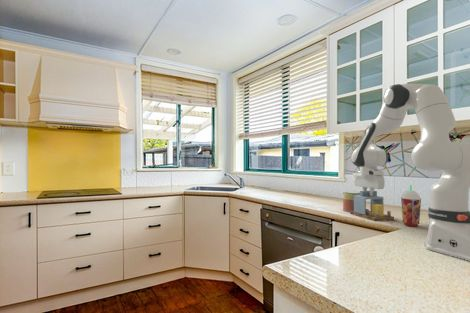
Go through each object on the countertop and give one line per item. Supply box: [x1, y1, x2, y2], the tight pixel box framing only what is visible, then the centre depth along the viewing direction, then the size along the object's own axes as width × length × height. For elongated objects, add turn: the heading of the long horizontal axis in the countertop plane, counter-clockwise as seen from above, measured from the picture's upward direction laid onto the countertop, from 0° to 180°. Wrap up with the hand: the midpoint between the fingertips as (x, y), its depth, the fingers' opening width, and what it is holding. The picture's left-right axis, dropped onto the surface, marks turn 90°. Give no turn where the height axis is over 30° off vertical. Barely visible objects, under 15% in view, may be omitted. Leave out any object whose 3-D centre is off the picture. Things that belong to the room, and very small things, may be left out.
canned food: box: [342, 190, 360, 213], centre depth 169 cm, size 11×11×12 cm
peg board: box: [349, 208, 395, 222], centre depth 152 cm, size 19×13×4 cm
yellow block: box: [372, 204, 385, 217], centre depth 147 cm, size 4×4×6 cm
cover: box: [354, 190, 384, 215], centre depth 154 cm, size 9×13×12 cm
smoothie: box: [400, 184, 422, 228], centre depth 132 cm, size 8×8×20 cm
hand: (368, 195), depth 154 cm, fingers closed on cover, 2 cm apart
